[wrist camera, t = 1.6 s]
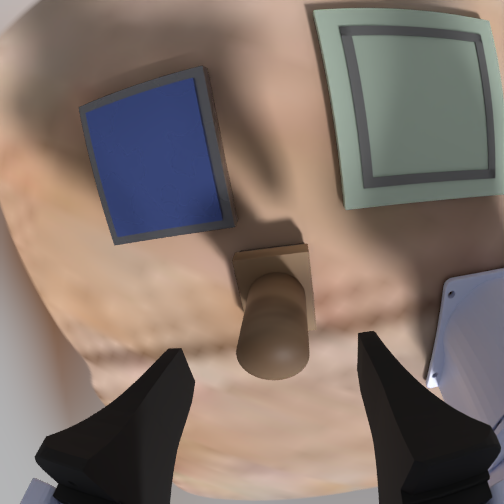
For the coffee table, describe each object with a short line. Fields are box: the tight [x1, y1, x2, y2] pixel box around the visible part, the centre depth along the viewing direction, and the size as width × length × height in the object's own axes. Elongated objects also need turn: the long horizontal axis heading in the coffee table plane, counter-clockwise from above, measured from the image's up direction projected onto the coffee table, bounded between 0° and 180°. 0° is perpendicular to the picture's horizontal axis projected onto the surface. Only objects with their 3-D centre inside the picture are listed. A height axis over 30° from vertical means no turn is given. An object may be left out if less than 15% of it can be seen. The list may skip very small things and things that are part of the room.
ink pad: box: [79, 66, 238, 245], centre depth 15 cm, size 8×7×1 cm
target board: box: [313, 8, 504, 210], centre depth 13 cm, size 10×10×1 cm
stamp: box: [232, 243, 316, 380], centre depth 16 cm, size 5×4×6 cm
